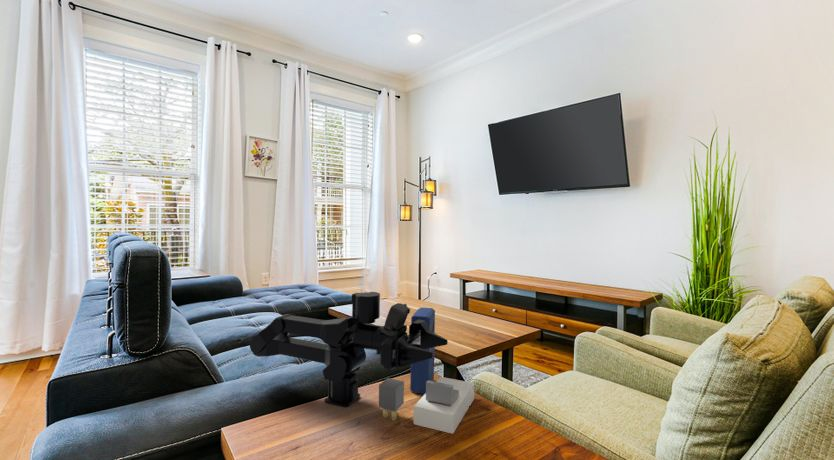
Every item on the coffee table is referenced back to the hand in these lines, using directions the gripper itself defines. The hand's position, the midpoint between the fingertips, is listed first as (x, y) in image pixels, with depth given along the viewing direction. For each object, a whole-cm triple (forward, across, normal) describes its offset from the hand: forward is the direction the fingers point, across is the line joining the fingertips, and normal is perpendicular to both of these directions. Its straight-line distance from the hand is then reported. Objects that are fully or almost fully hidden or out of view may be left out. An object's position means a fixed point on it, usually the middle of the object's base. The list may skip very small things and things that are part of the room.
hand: (440, 348), depth 85 cm
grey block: (0, +3, +12) cm, 13 cm away
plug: (-11, -2, +17) cm, 20 cm away
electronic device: (-10, +16, +17) cm, 25 cm away
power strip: (0, +6, +17) cm, 17 cm away
